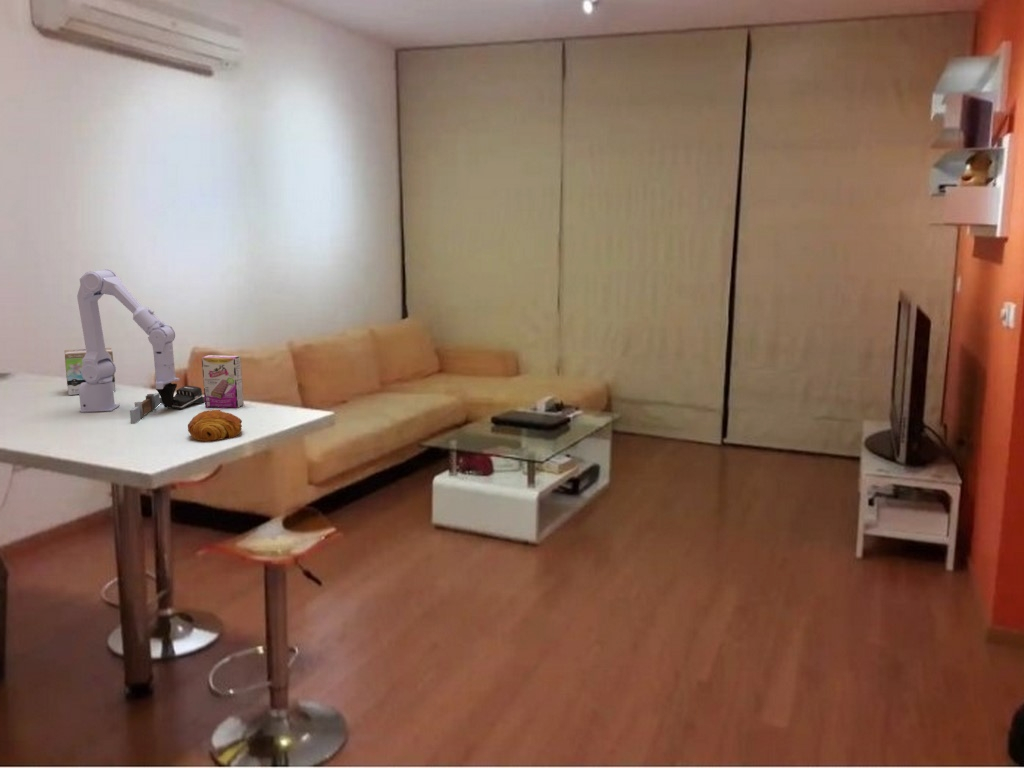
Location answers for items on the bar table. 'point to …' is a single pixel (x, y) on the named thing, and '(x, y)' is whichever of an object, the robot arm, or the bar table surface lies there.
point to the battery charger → (186, 396)
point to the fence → (137, 411)
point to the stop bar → (194, 402)
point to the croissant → (214, 425)
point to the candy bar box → (222, 381)
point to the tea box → (78, 369)
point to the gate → (147, 405)
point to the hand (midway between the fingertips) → (168, 407)
